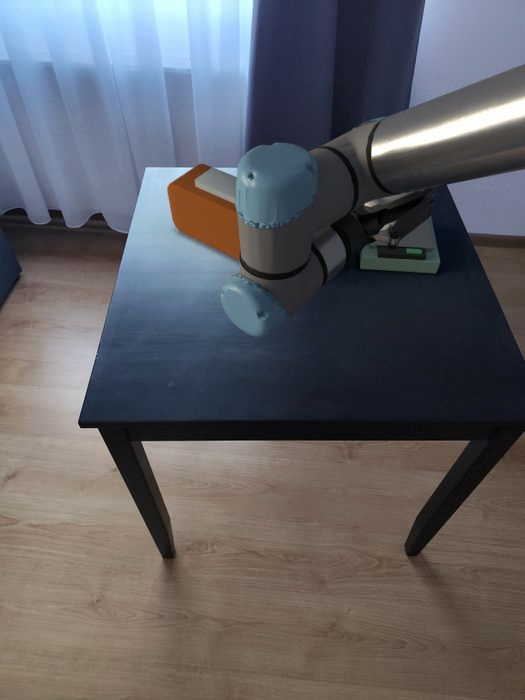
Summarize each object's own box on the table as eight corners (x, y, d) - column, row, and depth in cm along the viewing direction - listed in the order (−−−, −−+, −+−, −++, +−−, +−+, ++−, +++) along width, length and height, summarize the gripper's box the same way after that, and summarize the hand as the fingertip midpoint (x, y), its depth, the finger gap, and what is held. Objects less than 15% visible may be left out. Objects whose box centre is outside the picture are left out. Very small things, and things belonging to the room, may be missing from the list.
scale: (436, 273, 82) (442, 256, 79) (360, 268, 83) (363, 252, 80) (427, 227, 90) (432, 210, 87) (358, 223, 91) (361, 206, 88)
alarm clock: (303, 254, 86) (307, 198, 77) (276, 279, 81) (278, 224, 72) (201, 207, 94) (195, 153, 86) (173, 228, 90) (163, 174, 81)
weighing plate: (433, 251, 82) (434, 248, 81) (368, 247, 82) (368, 244, 82) (426, 215, 88) (427, 213, 87) (366, 212, 88) (366, 209, 88)
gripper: (263, 238, 66) (355, 168, 77) (385, 302, 58) (468, 214, 69) (263, 190, 60) (362, 122, 71) (398, 254, 52) (486, 166, 63)
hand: (414, 168), depth 70 cm, fingers closed on beverage can, 6 cm apart
